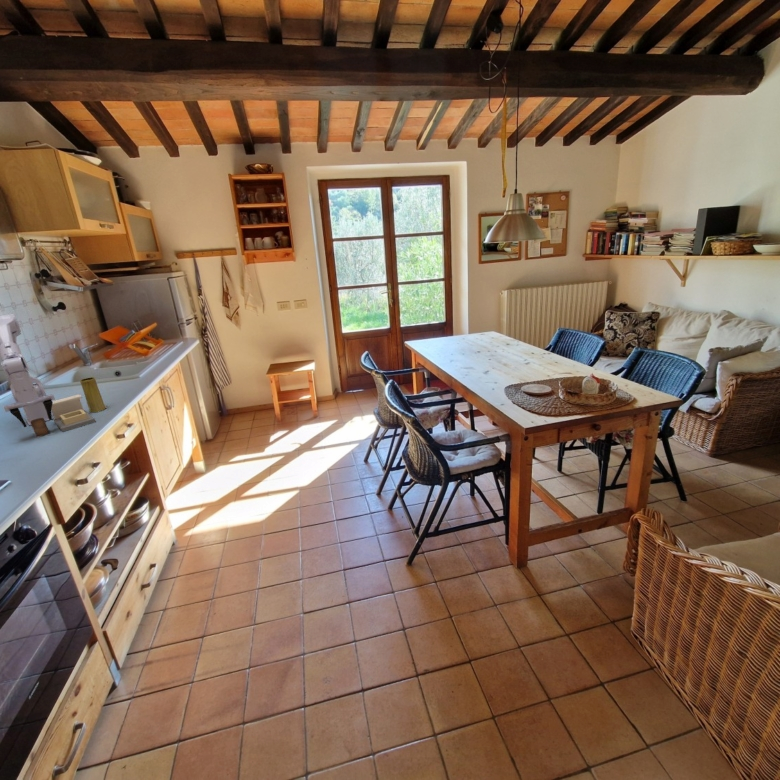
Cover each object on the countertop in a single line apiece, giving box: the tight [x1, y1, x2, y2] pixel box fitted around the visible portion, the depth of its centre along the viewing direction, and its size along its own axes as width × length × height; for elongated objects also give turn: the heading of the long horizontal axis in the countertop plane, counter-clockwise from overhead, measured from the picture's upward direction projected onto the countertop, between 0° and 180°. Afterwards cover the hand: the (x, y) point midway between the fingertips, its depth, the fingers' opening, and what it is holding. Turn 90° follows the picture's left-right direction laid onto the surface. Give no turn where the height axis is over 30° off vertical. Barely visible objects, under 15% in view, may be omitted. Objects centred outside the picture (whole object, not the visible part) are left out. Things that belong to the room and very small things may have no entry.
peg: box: [31, 418, 50, 438], centre depth 157 cm, size 4×4×6 cm
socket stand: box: [51, 393, 97, 433], centre depth 166 cm, size 16×11×9 cm
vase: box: [79, 376, 107, 413], centre depth 177 cm, size 6×6×14 cm
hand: (38, 422), depth 156 cm, fingers open, 7 cm apart
